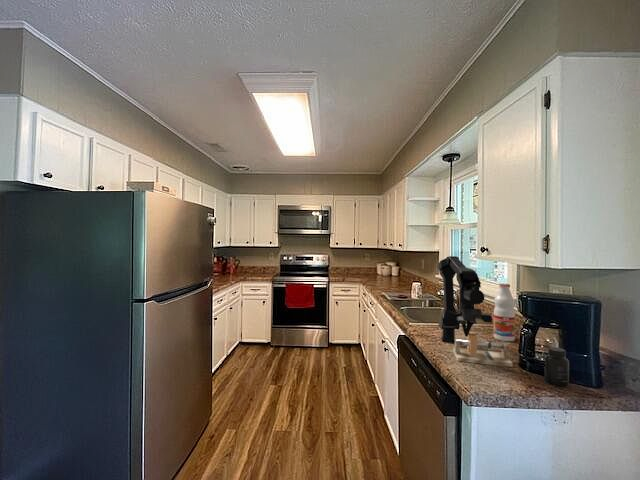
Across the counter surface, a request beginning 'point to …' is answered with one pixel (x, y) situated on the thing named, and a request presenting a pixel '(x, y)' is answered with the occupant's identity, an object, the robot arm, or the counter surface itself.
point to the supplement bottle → (556, 367)
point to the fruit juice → (504, 314)
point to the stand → (483, 356)
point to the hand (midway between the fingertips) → (466, 336)
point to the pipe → (483, 344)
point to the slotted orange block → (472, 343)
